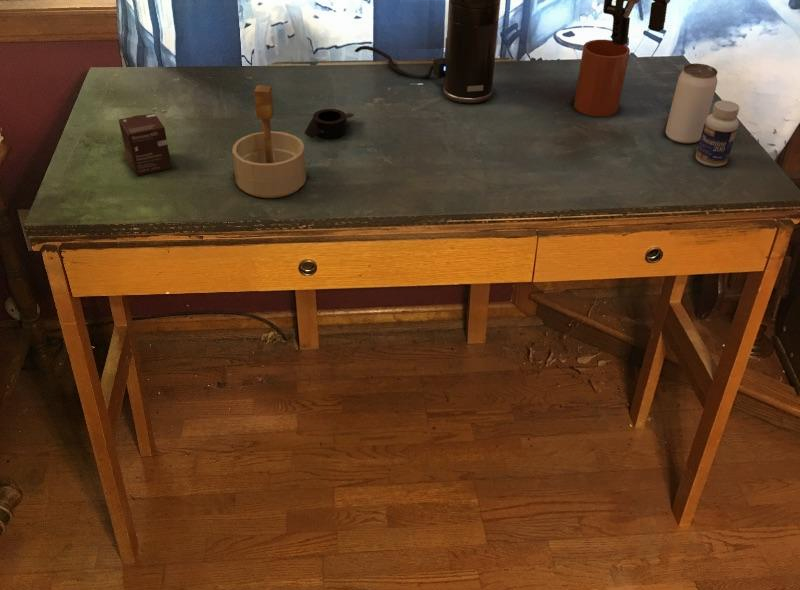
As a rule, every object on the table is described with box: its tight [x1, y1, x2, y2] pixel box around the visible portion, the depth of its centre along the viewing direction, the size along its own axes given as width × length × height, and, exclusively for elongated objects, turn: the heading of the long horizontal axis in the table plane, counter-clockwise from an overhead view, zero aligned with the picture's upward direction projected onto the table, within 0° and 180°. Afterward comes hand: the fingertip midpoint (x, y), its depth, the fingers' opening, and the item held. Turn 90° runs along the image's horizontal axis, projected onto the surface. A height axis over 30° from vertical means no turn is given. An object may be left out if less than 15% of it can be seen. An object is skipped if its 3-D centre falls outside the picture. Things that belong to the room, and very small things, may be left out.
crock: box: [573, 39, 631, 117], centre depth 158 cm, size 8×8×11 cm
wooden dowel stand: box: [253, 84, 275, 163], centre depth 134 cm, size 4×4×15 cm
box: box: [118, 112, 172, 176], centre depth 140 cm, size 6×6×7 cm
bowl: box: [231, 130, 307, 199], centre depth 137 cm, size 11×11×6 cm
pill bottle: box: [695, 100, 740, 168], centre depth 144 cm, size 5×5×10 cm
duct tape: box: [304, 108, 355, 140], centre depth 151 cm, size 8×10×3 cm
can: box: [664, 63, 718, 145], centre depth 149 cm, size 6×6×12 cm
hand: (637, 37), depth 125 cm, fingers open, 8 cm apart
